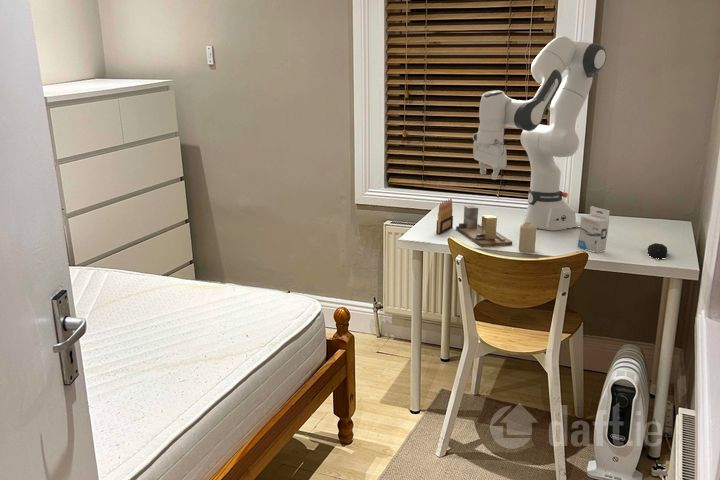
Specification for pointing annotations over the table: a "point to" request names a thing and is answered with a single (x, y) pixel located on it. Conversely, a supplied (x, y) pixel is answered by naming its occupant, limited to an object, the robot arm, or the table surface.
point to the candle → (527, 237)
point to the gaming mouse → (657, 251)
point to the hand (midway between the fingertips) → (488, 176)
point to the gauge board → (478, 229)
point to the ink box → (594, 230)
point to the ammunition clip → (445, 217)
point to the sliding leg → (488, 227)
